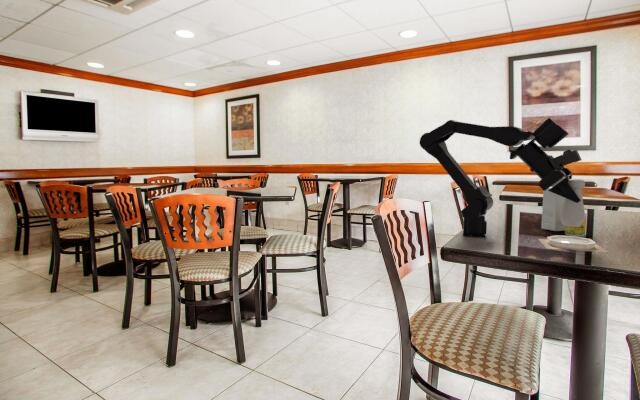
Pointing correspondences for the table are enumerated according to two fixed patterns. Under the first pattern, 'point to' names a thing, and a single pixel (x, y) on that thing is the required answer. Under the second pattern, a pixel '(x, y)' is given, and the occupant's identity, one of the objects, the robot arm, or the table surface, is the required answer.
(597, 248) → the placemat
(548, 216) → the skincare box
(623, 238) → the table surface
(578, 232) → the supplement bottle
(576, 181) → the salt shaker
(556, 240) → the dish
